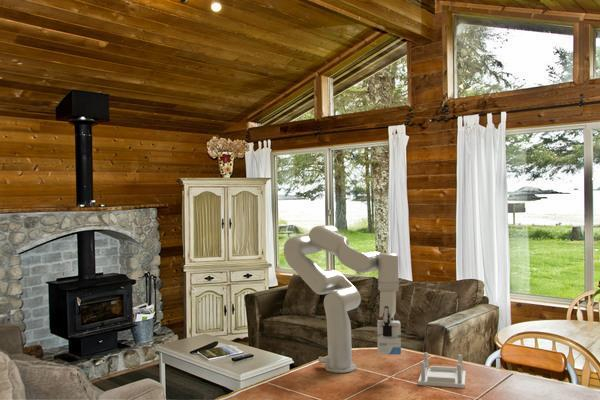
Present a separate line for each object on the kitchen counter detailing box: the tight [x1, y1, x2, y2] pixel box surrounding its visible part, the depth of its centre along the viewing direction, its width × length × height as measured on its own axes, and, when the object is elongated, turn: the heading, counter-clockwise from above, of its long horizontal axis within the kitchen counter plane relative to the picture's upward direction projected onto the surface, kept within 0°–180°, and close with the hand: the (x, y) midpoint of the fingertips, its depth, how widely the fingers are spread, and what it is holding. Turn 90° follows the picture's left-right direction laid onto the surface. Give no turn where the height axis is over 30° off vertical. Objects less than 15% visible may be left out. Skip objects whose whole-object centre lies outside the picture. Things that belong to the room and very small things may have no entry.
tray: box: [417, 352, 467, 389], centre depth 195 cm, size 16×16×8 cm
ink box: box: [376, 319, 402, 355], centre depth 198 cm, size 8×5×12 cm, turn 84°
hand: (388, 333), depth 198 cm, fingers closed on ink box, 5 cm apart
